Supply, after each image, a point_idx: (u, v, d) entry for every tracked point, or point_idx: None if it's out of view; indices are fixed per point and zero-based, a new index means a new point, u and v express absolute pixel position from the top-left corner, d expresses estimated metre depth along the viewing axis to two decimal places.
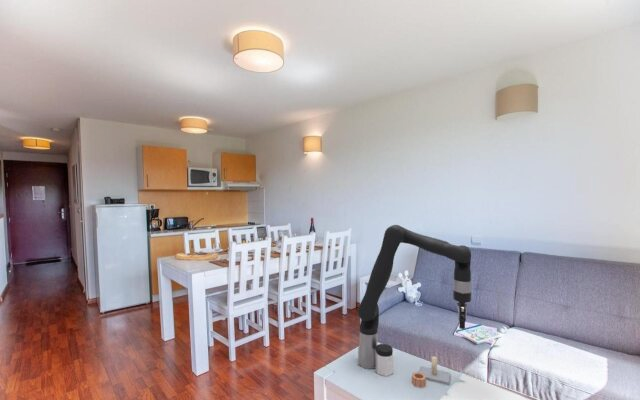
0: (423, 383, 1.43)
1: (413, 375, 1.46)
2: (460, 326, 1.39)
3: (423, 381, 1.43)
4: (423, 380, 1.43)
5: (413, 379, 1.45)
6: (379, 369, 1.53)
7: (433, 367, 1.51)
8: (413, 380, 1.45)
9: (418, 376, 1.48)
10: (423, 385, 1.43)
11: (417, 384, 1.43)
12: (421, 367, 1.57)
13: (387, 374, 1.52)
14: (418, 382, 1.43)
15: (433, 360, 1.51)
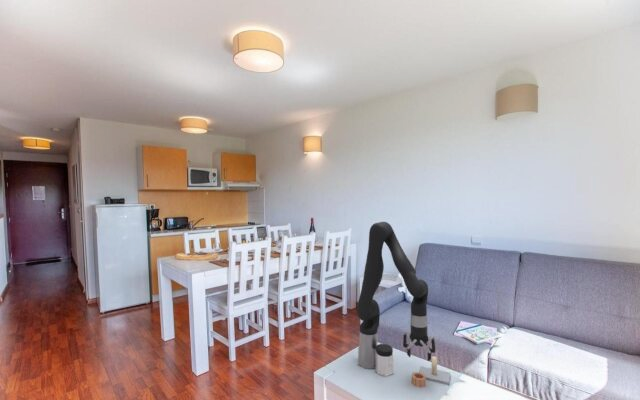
0: (423, 383, 1.43)
1: (413, 375, 1.46)
2: (430, 358, 1.43)
3: (423, 381, 1.43)
4: (423, 380, 1.43)
5: (413, 379, 1.45)
6: (379, 369, 1.53)
7: (433, 367, 1.51)
8: (413, 380, 1.45)
9: (418, 376, 1.48)
10: (423, 385, 1.43)
11: (417, 384, 1.43)
12: (421, 367, 1.57)
13: (387, 374, 1.52)
14: (418, 382, 1.43)
15: (433, 360, 1.51)
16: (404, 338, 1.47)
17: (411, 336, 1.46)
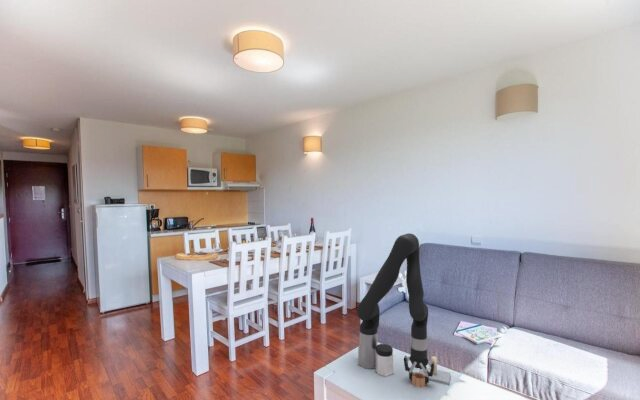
0: (423, 383, 1.43)
1: (413, 375, 1.46)
2: (427, 382, 1.44)
3: (423, 381, 1.43)
4: (423, 380, 1.43)
5: (413, 379, 1.45)
6: (379, 369, 1.53)
7: None
8: (413, 380, 1.45)
9: (418, 376, 1.48)
10: (423, 385, 1.43)
11: (417, 384, 1.43)
12: None
13: (387, 374, 1.52)
14: (418, 382, 1.43)
15: (433, 360, 1.51)
16: (405, 362, 1.47)
17: (411, 358, 1.46)
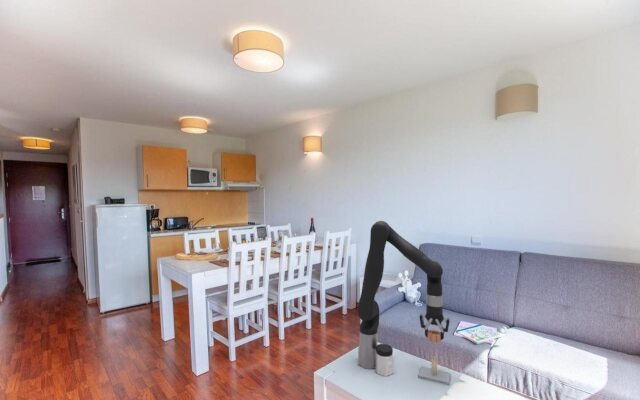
0: (439, 339, 1.49)
1: (429, 332, 1.52)
2: (442, 337, 1.49)
3: (439, 337, 1.49)
4: (439, 336, 1.49)
5: (429, 335, 1.50)
6: (379, 369, 1.53)
7: (433, 367, 1.51)
8: (429, 336, 1.50)
9: (433, 333, 1.53)
10: (439, 340, 1.49)
11: (433, 339, 1.49)
12: (421, 367, 1.57)
13: (387, 374, 1.52)
14: (434, 338, 1.48)
15: (433, 360, 1.51)
16: (420, 319, 1.53)
17: (426, 315, 1.52)
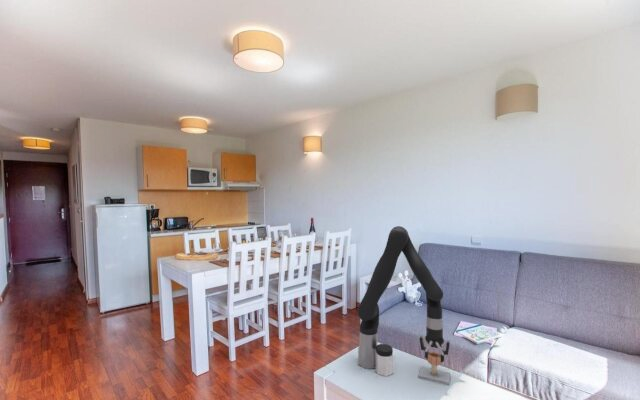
0: (439, 361, 1.49)
1: (429, 354, 1.52)
2: (443, 360, 1.49)
3: (439, 359, 1.49)
4: (439, 358, 1.49)
5: (429, 358, 1.50)
6: (379, 369, 1.53)
7: (433, 367, 1.51)
8: (429, 359, 1.50)
9: (434, 355, 1.53)
10: (439, 363, 1.49)
11: (433, 362, 1.49)
12: (421, 367, 1.57)
13: (387, 374, 1.52)
14: (434, 360, 1.48)
15: None
16: (420, 341, 1.53)
17: (427, 338, 1.52)
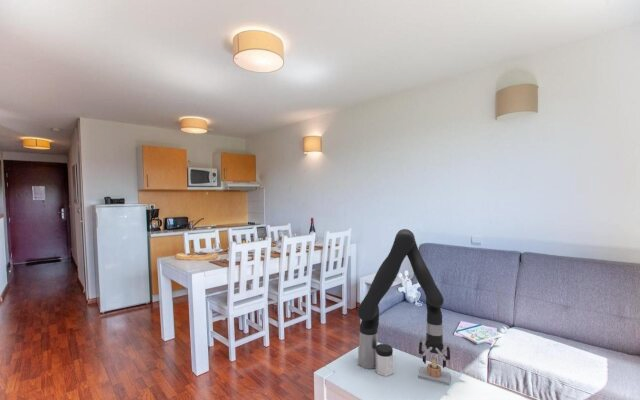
0: (438, 373, 1.49)
1: (428, 366, 1.52)
2: (445, 365, 1.49)
3: (438, 372, 1.49)
4: (438, 371, 1.49)
5: (429, 370, 1.51)
6: (379, 369, 1.53)
7: (433, 367, 1.51)
8: (429, 371, 1.51)
9: None
10: (438, 375, 1.49)
11: (433, 374, 1.49)
12: (421, 367, 1.57)
13: (387, 374, 1.52)
14: (434, 372, 1.49)
15: (433, 360, 1.51)
16: (420, 345, 1.53)
17: (427, 344, 1.52)
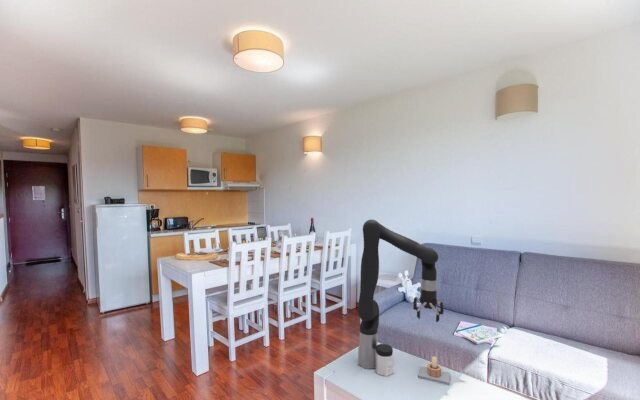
0: (438, 373, 1.49)
1: (428, 366, 1.52)
2: (438, 320, 1.55)
3: (438, 372, 1.49)
4: (438, 371, 1.49)
5: (429, 370, 1.51)
6: (379, 369, 1.53)
7: (433, 367, 1.51)
8: (429, 371, 1.51)
9: None
10: (438, 375, 1.49)
11: (433, 374, 1.49)
12: (421, 367, 1.57)
13: (387, 374, 1.52)
14: (434, 372, 1.49)
15: (433, 360, 1.51)
16: (414, 301, 1.59)
17: (421, 299, 1.58)
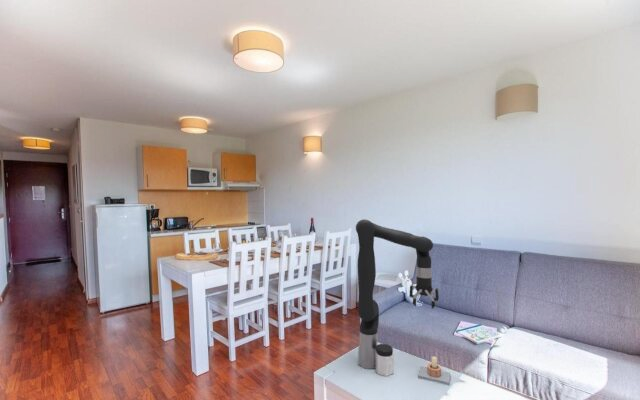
0: (438, 373, 1.49)
1: (428, 366, 1.52)
2: (433, 306, 1.59)
3: (438, 372, 1.49)
4: (438, 371, 1.49)
5: (429, 370, 1.51)
6: (379, 369, 1.53)
7: (433, 367, 1.51)
8: (429, 371, 1.51)
9: None
10: (438, 375, 1.49)
11: (433, 374, 1.49)
12: (421, 367, 1.57)
13: (387, 374, 1.52)
14: (434, 372, 1.49)
15: (433, 360, 1.51)
16: (410, 289, 1.63)
17: (417, 287, 1.62)
